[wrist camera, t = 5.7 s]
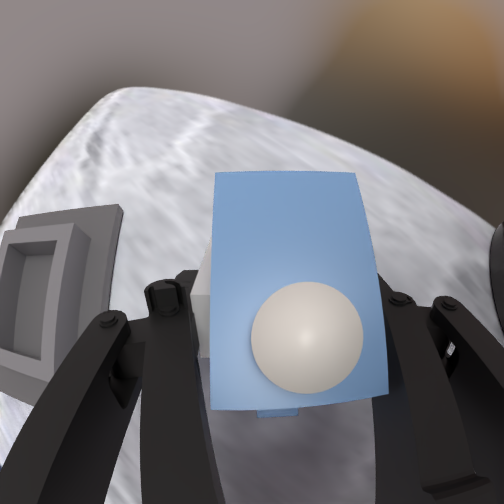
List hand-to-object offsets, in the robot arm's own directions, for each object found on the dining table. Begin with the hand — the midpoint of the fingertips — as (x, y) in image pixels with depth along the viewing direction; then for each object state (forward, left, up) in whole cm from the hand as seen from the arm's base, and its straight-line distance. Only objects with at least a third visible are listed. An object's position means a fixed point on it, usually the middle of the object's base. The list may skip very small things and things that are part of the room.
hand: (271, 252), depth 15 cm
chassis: (+17, -5, -3) cm, 18 cm away
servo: (+2, +3, -3) cm, 5 cm away
